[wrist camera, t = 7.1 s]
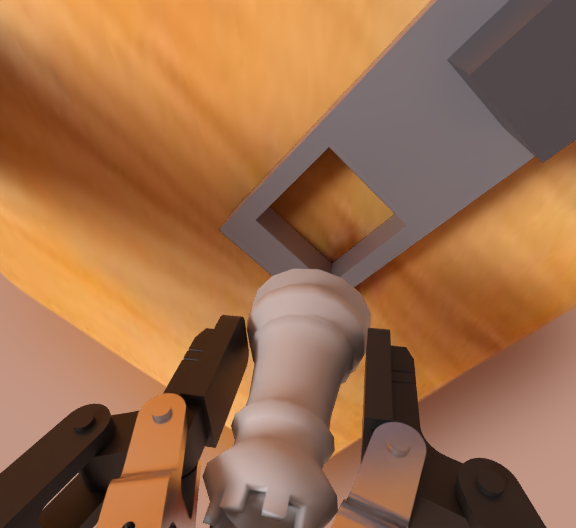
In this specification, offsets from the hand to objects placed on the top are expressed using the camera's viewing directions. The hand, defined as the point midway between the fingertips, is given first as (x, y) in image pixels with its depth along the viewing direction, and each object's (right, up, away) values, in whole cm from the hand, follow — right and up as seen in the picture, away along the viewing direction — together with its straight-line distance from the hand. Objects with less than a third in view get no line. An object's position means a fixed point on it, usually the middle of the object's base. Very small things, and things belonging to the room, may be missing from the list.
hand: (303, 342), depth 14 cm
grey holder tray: (+6, +10, +7) cm, 13 cm away
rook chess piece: (0, +1, +2) cm, 2 cm away
